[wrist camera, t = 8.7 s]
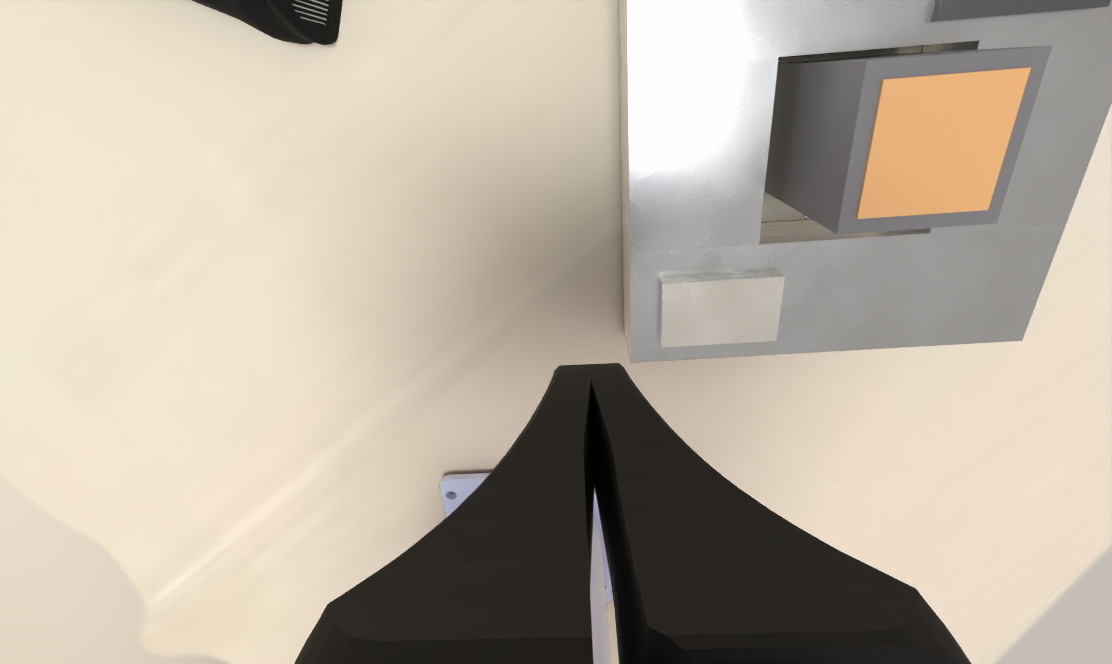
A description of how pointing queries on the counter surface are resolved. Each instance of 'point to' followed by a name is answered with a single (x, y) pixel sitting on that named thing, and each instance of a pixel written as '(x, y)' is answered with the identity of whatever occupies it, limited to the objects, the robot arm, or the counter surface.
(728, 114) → the socket plate
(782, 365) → the counter surface
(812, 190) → the plug
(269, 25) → the electric trimmer
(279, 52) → the counter surface
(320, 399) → the counter surface
